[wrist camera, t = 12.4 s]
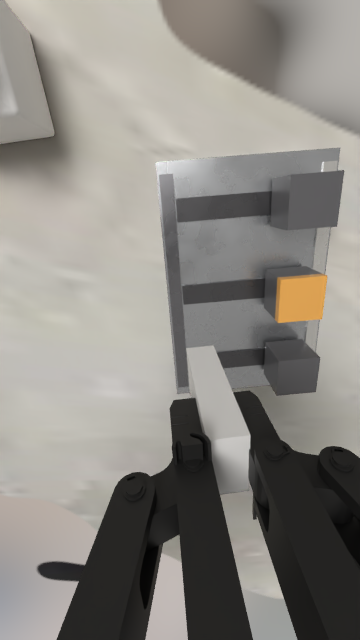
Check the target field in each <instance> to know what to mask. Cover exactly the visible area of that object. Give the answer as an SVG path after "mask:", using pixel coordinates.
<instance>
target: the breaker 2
mask: <svg viewBox="0 0 360 640" xmlns="http://www.w3.org/2000/svg"><path fill="white" fill-rule="evenodd" d="M319 363H320V357H319V356H318V355H317V354H316V353H315V352H314V351H313V350H312V349H311V348H310V347H309V346H308V345H307V344H306V343H305V342H304V341H303V340H302V339H296V340H285V341H274V342H265V360H264V375H265V377H266V378H267V380H268V382H269V383H270V385H271V387H272V389H273V390H274V392H275V394H276V395H277V396H278V395H289V394H299V393H310V392H316V386H317V379H318V371H319Z"/></svg>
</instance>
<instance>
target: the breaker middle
mask: <svg viewBox="0 0 360 640" xmlns="http://www.w3.org/2000/svg"><path fill="white" fill-rule="evenodd" d="M326 283H327V275H325V274H322V273H320V272H318V271H316V270H314V269H311V268H309V267H307V266H300V267H289V268H277V269H266V270H265V295H264V308H265V310H266V311H267V312H268V313H269V314H270V315H271V316H272V317H273V318H274V319H275V320H276V321H277V322H278V323H285V322H296V321H307V320H318V319H322V315H323V307H324V299H325V291H326Z"/></svg>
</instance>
